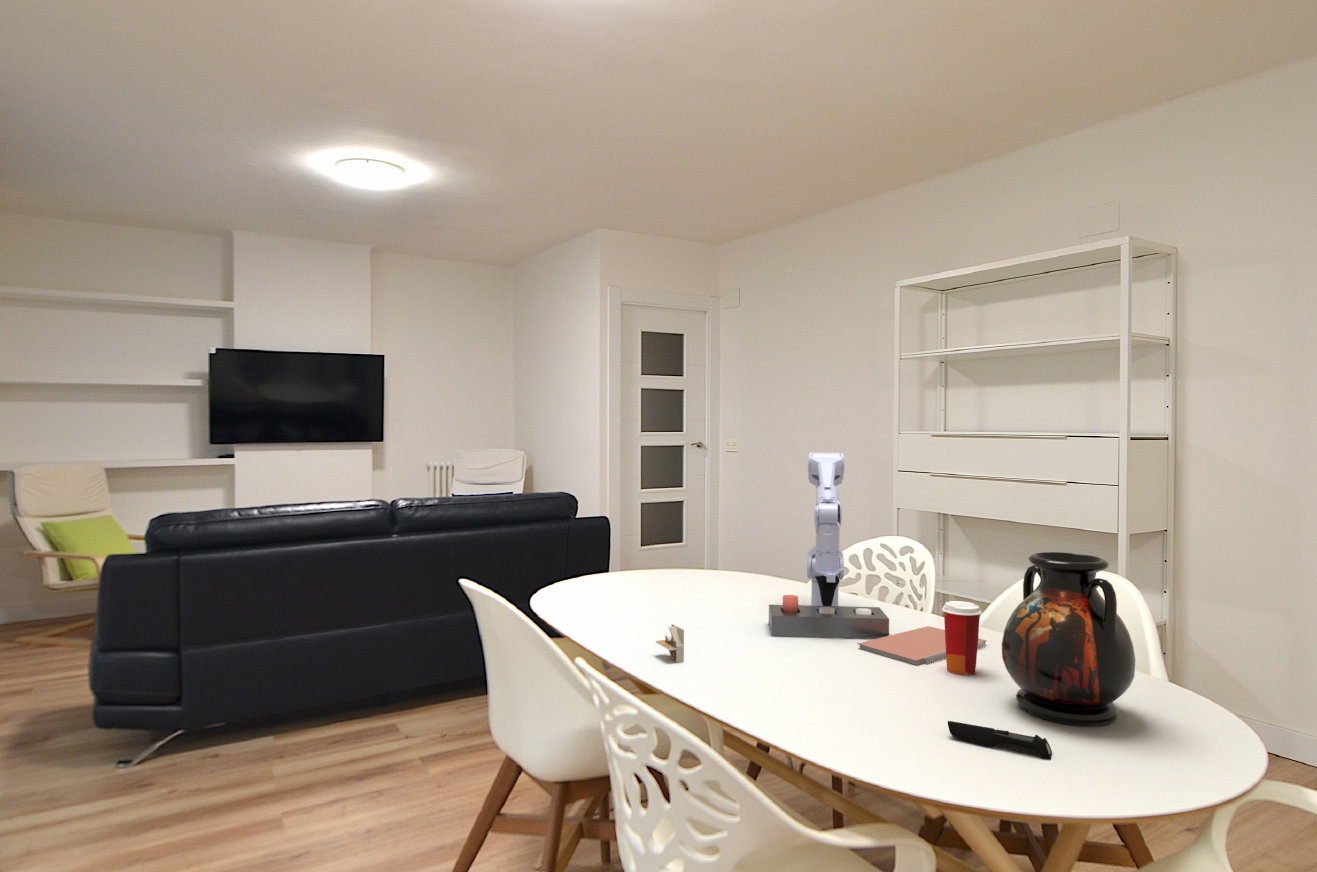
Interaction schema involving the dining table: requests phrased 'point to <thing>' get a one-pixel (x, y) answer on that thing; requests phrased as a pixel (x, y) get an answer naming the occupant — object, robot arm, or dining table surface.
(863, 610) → the plug
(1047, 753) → the electric trimmer
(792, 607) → the red plug
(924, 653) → the notebook
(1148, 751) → the dining table surface
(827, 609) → the plug
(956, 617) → the paper cup
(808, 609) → the block
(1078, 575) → the amphora vase
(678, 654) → the architectural model
